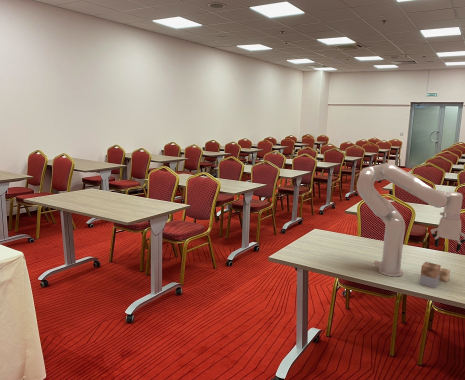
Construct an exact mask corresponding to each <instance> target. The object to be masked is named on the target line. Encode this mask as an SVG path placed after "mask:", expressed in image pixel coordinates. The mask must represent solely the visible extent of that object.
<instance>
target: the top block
mask: <svg viewBox="0 0 465 380" xmlns="http://www.w3.org/2000/svg"><path fill="white" fill-rule="evenodd" d="M420 268H421V269H420V270H421V271H420V276H421V275H423V276H427V277H431V278H435V279H436V278H437V277H438V276H439V275H440V268H442V265H441V264H437V263H434V262H430V261H429V262H428V261H425V262H424V263H423V264H422V265H421V267H420Z"/></svg>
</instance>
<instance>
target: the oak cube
mask: <svg viewBox="0 0 465 380" xmlns="http://www.w3.org/2000/svg"><path fill="white" fill-rule="evenodd" d="M450 277H451V269H448V268H444V267H440V276H439V281H441V282H448V281H449V280H450Z"/></svg>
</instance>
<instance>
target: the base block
mask: <svg viewBox="0 0 465 380" xmlns="http://www.w3.org/2000/svg"><path fill="white" fill-rule="evenodd" d="M439 276H440V275H439ZM439 276H438V277H437V278H436V279H435V278H431V277H427V276H423V275H421V274H420V277H419V278H420V279H419V285H421V286H425V287H430V288H433V289H436V287H437V286H438V285H439V284H440V283H439V281H440V280H439Z"/></svg>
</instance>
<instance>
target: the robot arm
mask: <svg viewBox="0 0 465 380" xmlns="http://www.w3.org/2000/svg"><path fill="white" fill-rule="evenodd" d="M382 180H386V181H388V182H390V183H392V184H394V185H396V186H397V187H398V188H400V189H402V190H404V191H406V192H408V193H409V194H411V195H412V196H414V197H416V198H418V199H420V200H421V201H423V202H425V203H427V204H429V205H430V206H432V207H434V208H438V209H440V208H441V209H442V208H443V212H439V216H442V217H440V220H439V223H438V227H436V228H432V229H430V233H431V235H432V237H433V238H434V245H435V248H438V247H439V245H440V238H442V239H447V240H452V241H456V243H457V244H456V250H455V251H456V252H459V251H460V250H461V247H462V244H464V243H465V233H464V232H463V231H462V220H461V212H462V205H463V199H464V196H463V193H462V192H461V193H460V192H457V191H445V190H444V191H443V190H439V189H435V188H433V187H431V186H429V185H428V184H426V183H425V182H423V181H422V180H421V179H419V178H418V177H417V176H416V175H414V174H412V173H409V172H408V171H406V170H404V169H403V168H401V167H398V166H397V165H396V164H395V163H392V162H386V163H381V164H377V165H372V166H367V167H364V168H362V169H360V171H359V175H358V179H357V181H356V192H357V193H358V195H359V196H360V198H361V199H362V200H363V201H364V203H365V204H366V205H367V206H368V208H369V209H370V210H371V211H372V212H373V214H374V215H375V216H376V217H379V218H380V220H381V221H382V222H383V223H384V224H385V225H384V227H385V228H384V236H383V246H382V247H383V248H382V258H381V260H382V261H379V260H374V265H375V266H376V267H378V270H377V271H378V272H379V273H380V274H381V275H385V276H388V277H396V278H397V277H402V276H404V271H403V270H402V269H401V266H402V258H403V247H404V237H405V232H406V223H405V219H404V218H403V215H402V214H401V213H400V212H399V211H398V210H397V208H396V207H395V206H394V205H393V204H392V203H391V202H390V200H389V199H388V198H386V197H384V196H382V195H381V194H380V192H379V191H378V190H377V189H376V188H375V185H374V184H375V183H376V182H378V181H382ZM435 232H436V233H435ZM461 236H462V237H463V239H461Z"/></svg>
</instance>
